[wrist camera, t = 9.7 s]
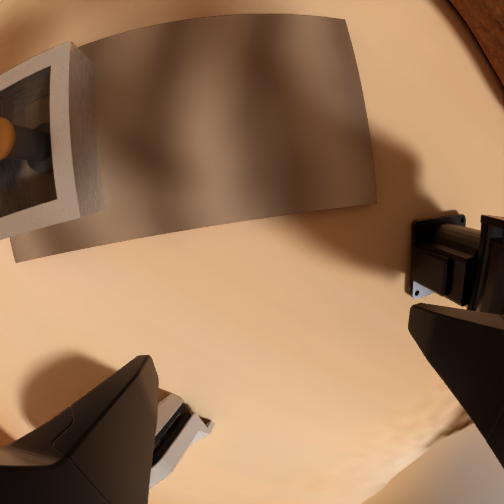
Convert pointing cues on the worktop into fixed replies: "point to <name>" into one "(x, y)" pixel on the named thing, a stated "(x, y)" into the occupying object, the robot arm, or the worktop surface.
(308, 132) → the board
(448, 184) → the worktop surface
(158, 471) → the grey rounded block
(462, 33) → the worktop surface
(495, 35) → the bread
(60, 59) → the hollow metal box
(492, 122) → the worktop surface
